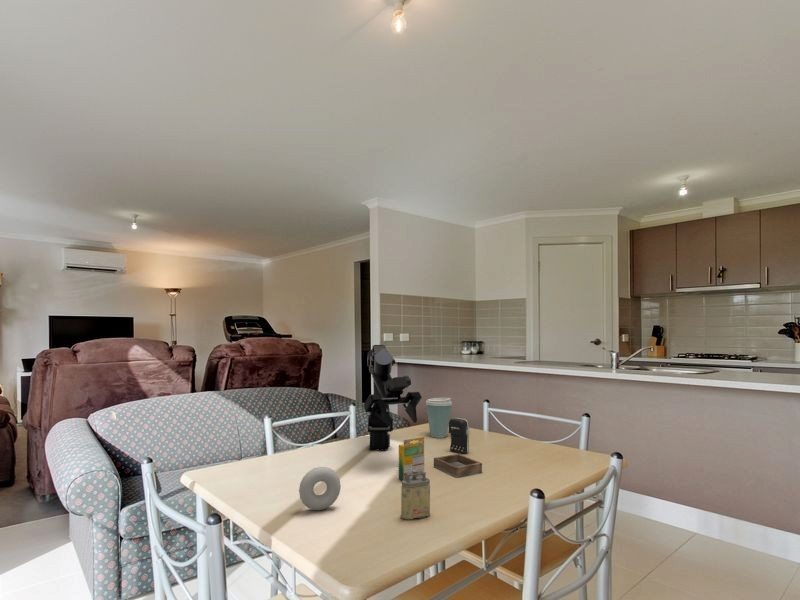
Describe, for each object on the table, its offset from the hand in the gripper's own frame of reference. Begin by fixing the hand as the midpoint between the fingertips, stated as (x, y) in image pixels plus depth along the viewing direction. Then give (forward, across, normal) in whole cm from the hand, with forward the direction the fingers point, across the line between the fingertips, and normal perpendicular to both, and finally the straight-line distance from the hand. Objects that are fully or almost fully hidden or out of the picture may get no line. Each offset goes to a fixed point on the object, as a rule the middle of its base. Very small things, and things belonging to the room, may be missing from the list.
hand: (403, 423), depth 141 cm
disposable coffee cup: (-12, +36, +30) cm, 48 cm away
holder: (+15, +15, +4) cm, 22 cm away
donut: (+21, -33, +1) cm, 39 cm away
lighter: (+32, -16, -10) cm, 36 cm away
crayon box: (+15, -2, +6) cm, 16 cm away
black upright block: (+4, +28, +15) cm, 32 cm away
